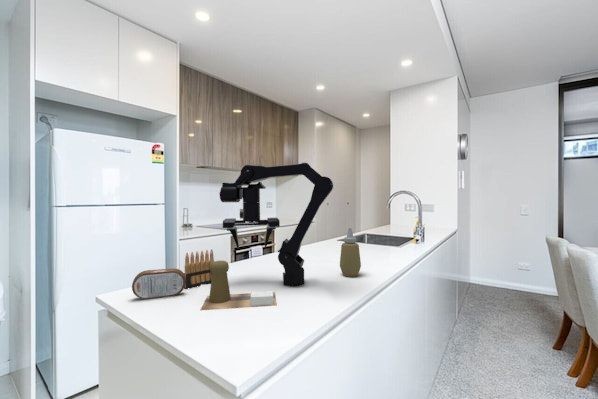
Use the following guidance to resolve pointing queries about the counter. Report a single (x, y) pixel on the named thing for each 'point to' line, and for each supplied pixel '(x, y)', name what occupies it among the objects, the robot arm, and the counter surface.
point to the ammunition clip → (198, 269)
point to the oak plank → (234, 302)
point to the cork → (219, 282)
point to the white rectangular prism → (261, 298)
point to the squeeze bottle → (350, 256)
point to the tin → (158, 283)
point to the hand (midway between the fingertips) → (251, 247)
